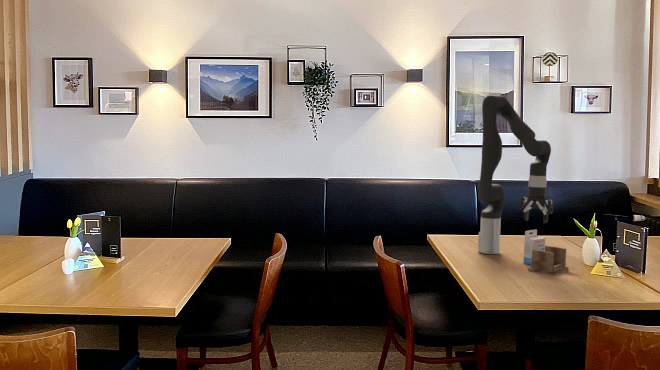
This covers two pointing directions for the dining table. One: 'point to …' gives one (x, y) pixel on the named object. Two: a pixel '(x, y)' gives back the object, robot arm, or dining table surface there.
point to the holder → (549, 260)
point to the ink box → (532, 245)
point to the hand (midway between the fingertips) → (535, 221)
